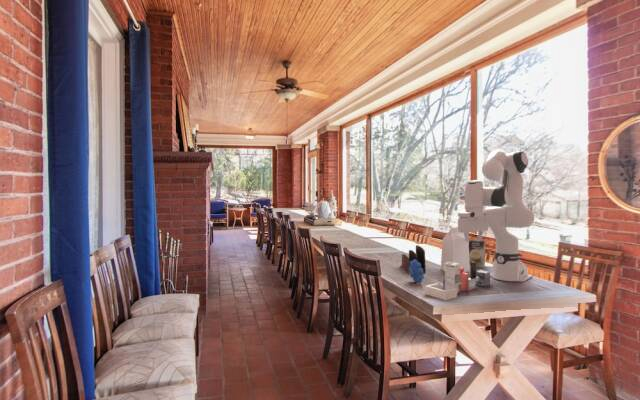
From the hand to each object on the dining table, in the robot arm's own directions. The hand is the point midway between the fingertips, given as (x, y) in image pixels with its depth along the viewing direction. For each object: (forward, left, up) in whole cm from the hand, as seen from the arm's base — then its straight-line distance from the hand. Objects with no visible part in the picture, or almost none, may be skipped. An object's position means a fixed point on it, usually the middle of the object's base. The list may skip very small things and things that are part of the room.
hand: (473, 240), depth 203 cm
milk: (-25, -30, -24) cm, 46 cm away
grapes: (+16, -24, -24) cm, 38 cm away
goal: (+24, 0, -24) cm, 34 cm away
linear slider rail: (-2, 0, -23) cm, 23 cm away
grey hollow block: (-8, 0, -24) cm, 25 cm away
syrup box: (+17, 0, -24) cm, 29 cm away
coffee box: (-46, -30, -24) cm, 60 cm away
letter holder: (-7, -47, -24) cm, 53 cm away
